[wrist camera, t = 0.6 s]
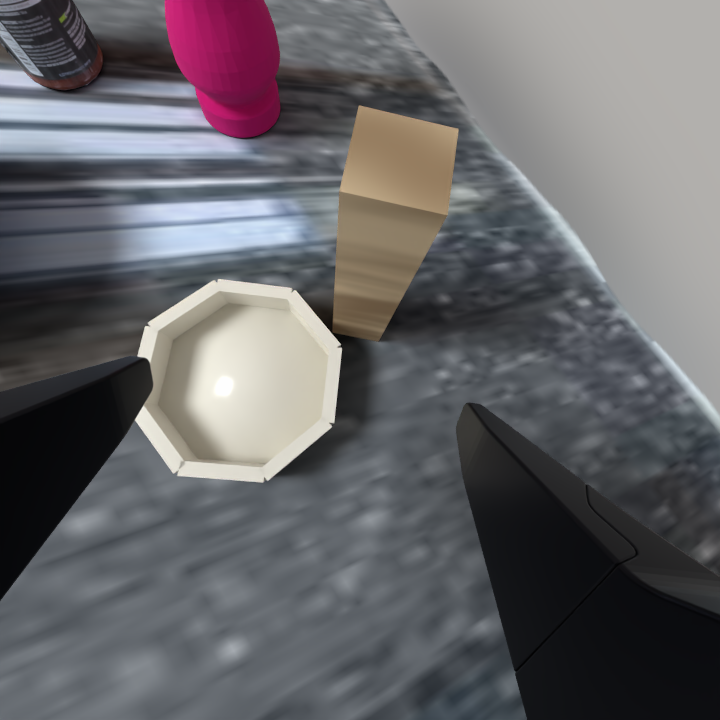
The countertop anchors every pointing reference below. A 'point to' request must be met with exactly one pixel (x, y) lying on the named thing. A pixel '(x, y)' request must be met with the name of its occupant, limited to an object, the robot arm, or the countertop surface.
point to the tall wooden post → (387, 215)
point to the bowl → (238, 381)
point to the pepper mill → (228, 61)
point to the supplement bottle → (50, 42)
